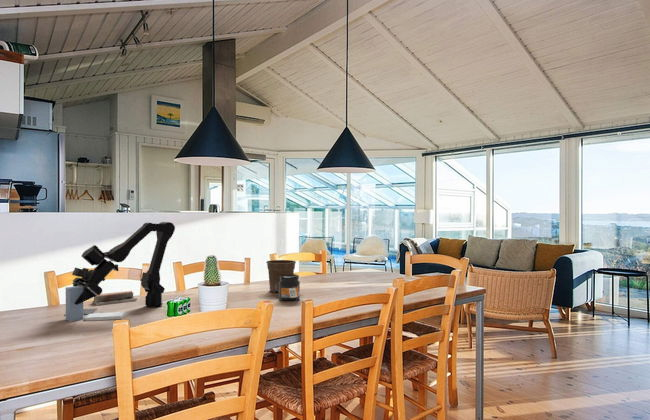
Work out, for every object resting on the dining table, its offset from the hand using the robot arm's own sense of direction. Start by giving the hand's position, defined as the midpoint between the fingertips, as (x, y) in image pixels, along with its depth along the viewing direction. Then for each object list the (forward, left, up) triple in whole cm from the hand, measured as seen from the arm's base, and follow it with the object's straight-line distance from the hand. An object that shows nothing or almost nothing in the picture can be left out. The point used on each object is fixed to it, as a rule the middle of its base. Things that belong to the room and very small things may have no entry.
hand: (71, 302), depth 180 cm
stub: (-1, -1, -7) cm, 7 cm away
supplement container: (-92, -21, -7) cm, 94 cm away
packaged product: (-9, -34, -8) cm, 36 cm away
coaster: (0, -13, -7) cm, 14 cm away
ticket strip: (-12, -1, -7) cm, 14 cm away
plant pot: (-91, -45, -7) cm, 102 cm away
